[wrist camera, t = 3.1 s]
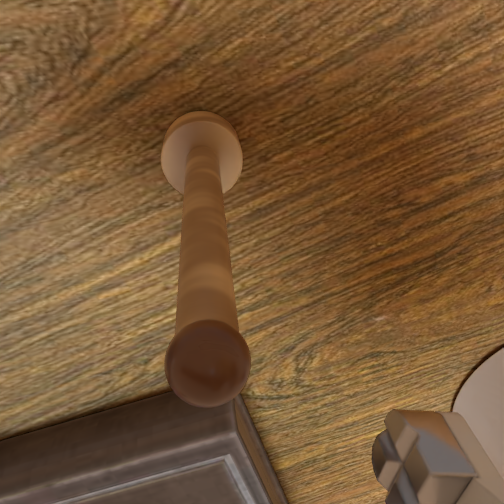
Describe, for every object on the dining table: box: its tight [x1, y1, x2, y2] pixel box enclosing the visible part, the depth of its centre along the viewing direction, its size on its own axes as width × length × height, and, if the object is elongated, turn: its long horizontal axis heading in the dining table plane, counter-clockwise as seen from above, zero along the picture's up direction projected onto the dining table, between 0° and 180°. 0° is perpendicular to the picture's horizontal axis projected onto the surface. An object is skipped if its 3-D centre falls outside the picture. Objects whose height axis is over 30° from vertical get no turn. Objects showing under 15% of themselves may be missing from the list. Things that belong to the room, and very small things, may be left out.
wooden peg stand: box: [161, 111, 251, 408], centre depth 18 cm, size 4×4×17 cm
